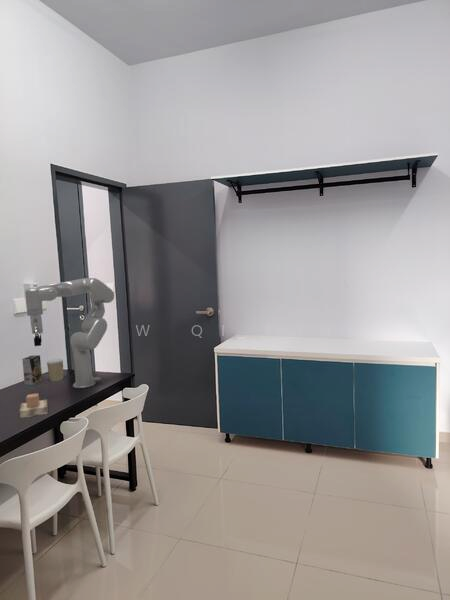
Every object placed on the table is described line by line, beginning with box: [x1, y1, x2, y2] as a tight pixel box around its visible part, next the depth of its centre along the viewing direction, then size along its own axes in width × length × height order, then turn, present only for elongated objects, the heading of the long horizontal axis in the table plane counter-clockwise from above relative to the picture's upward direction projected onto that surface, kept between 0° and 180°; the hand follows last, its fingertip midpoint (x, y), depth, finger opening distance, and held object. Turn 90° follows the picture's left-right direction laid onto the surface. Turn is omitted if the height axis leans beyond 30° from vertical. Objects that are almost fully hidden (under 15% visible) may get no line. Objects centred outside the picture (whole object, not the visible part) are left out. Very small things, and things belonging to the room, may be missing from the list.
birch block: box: [19, 398, 49, 419], centre depth 210 cm, size 12×12×4 cm
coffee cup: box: [46, 358, 64, 382], centre depth 264 cm, size 9×9×12 cm
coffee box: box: [21, 354, 43, 386], centre depth 259 cm, size 9×6×16 cm
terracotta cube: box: [25, 393, 40, 408], centre depth 209 cm, size 5×5×5 cm
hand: (38, 344), depth 225 cm, fingers open, 9 cm apart
